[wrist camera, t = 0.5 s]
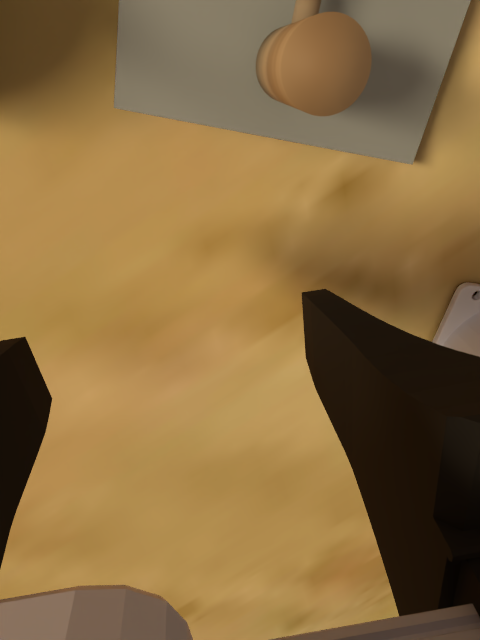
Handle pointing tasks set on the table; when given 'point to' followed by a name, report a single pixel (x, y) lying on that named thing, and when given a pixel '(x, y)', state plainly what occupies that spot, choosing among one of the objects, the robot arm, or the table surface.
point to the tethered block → (315, 61)
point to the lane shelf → (241, 80)
